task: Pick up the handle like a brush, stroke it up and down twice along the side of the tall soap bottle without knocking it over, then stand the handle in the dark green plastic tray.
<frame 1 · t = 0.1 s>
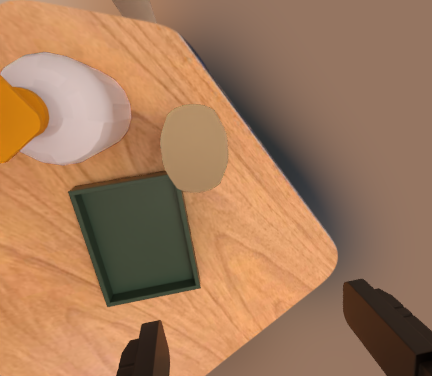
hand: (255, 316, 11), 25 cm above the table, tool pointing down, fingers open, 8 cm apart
handle: (190, 131, 33), on the table
brush tray: (142, 236, 37), on the table
soap bottle: (93, 110, 31), on the table
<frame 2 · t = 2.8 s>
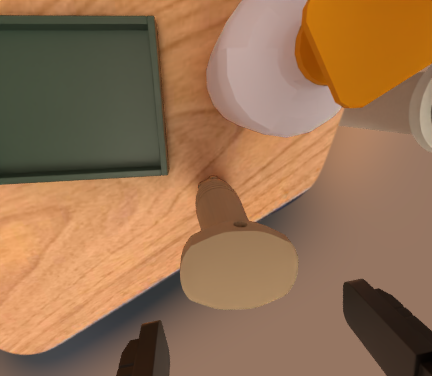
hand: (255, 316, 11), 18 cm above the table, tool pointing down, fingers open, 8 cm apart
handle: (212, 188, 29), on the table
brush tray: (69, 105, 24), on the table
soap bottle: (251, 79, 26), on the table
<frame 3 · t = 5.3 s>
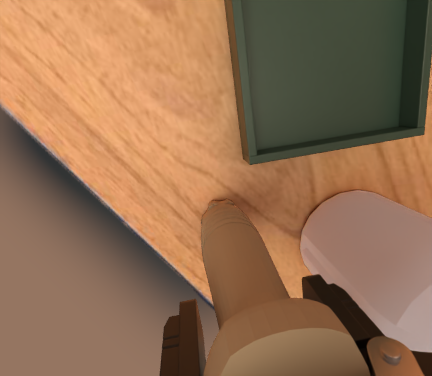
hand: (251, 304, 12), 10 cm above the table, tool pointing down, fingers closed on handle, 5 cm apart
handle: (220, 214, 22), on the table, touching gripper
brush tray: (320, 23, 18), on the table
soap bottle: (344, 235, 24), on the table
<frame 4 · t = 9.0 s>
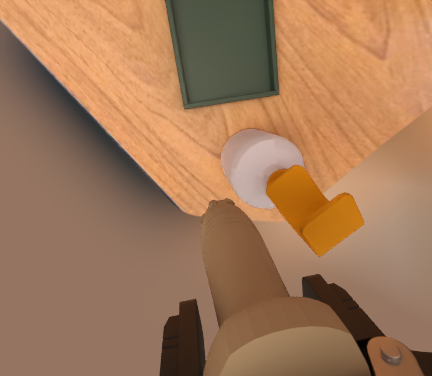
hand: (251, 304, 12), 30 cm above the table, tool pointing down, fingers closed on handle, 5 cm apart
handle: (220, 213, 22), point 19 cm above the table, touching gripper
brush tray: (221, 35, 35), on the table
soap bottle: (248, 158, 41), on the table
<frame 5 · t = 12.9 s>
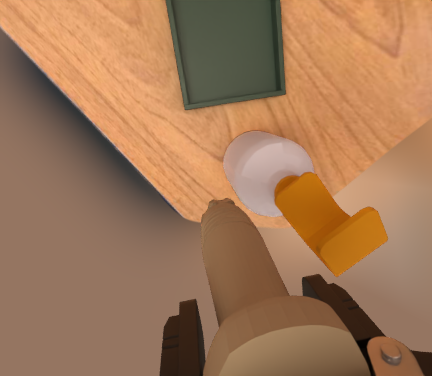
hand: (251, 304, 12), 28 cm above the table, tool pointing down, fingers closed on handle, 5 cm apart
handle: (220, 213, 22), point 17 cm above the table, touching gripper
brush tray: (224, 31, 33), on the table
soap bottle: (252, 161, 39), on the table
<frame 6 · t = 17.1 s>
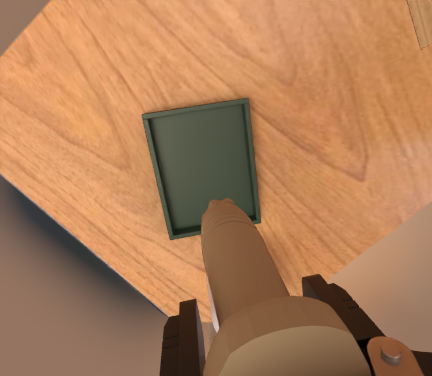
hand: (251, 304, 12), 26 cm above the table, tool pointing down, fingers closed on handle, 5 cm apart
handle: (220, 213, 22), point 16 cm above the table, touching gripper
brush tray: (205, 169, 37), on the table
when the fingers open (11 cm above the table, at t = 20.4 s): handle stays where it is, resting on brush tray.
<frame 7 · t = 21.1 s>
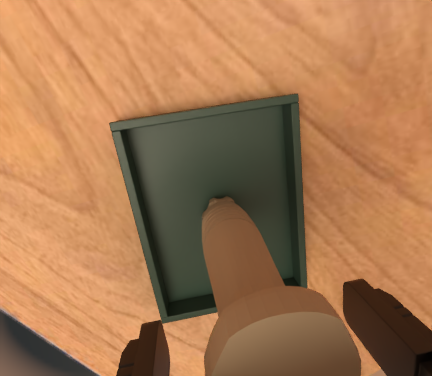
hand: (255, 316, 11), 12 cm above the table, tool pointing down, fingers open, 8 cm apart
handle: (220, 211, 23), resting on brush tray
brush tray: (219, 210, 23), on the table
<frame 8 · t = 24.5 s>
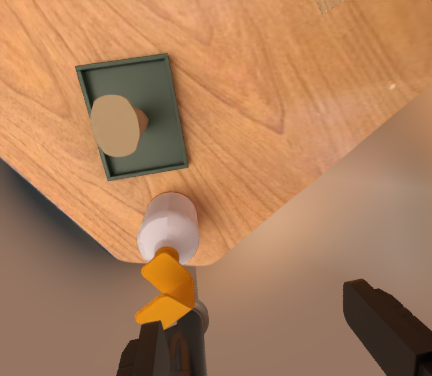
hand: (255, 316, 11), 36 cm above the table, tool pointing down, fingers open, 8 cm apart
handle: (138, 120, 42), resting on brush tray
brush tray: (138, 120, 43), on the table
soap bottle: (171, 214, 48), on the table
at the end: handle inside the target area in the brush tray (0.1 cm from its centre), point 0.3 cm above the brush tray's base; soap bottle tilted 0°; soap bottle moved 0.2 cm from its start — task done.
